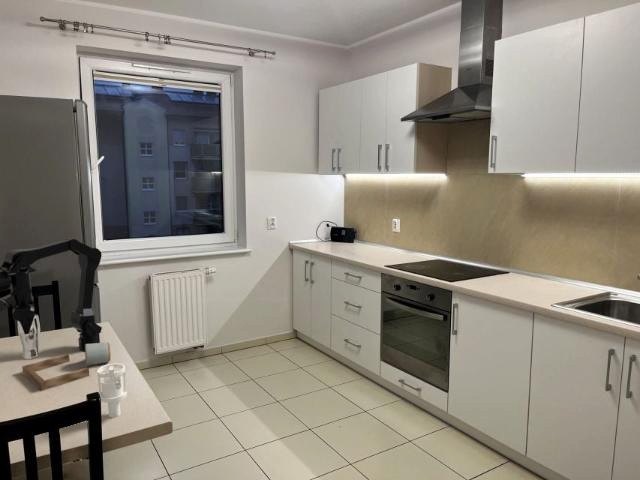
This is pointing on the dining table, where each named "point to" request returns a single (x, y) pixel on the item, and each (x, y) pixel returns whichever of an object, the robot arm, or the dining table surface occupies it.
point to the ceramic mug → (97, 353)
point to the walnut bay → (56, 381)
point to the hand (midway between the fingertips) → (26, 330)
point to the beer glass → (30, 340)
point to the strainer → (112, 387)
